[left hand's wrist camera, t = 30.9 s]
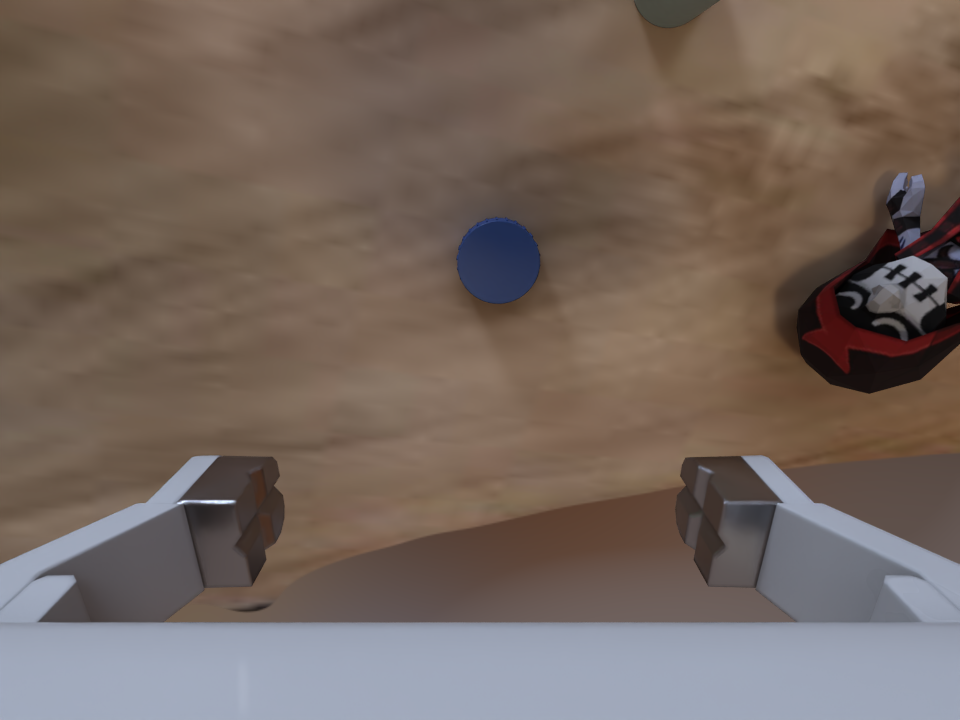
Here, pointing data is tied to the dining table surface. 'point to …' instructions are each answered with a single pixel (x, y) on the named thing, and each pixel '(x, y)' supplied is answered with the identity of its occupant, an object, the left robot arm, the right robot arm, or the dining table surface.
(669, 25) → the pale green cylinder
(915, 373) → the toy
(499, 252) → the lid
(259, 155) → the dining table surface
